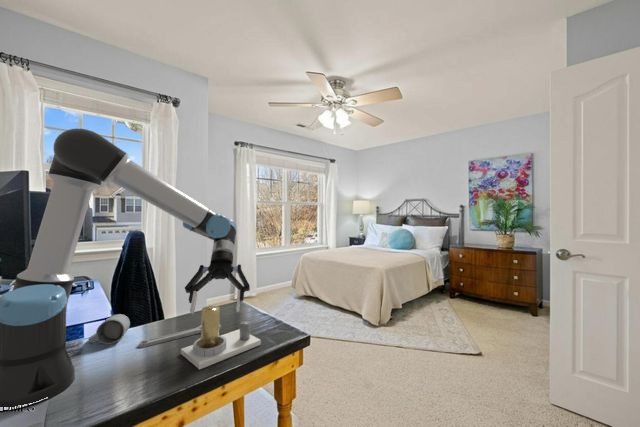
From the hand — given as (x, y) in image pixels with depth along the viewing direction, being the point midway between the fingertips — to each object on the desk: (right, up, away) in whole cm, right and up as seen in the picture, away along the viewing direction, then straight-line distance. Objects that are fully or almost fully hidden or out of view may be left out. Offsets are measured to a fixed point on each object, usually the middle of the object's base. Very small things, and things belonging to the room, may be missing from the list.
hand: (215, 311), depth 89 cm
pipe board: (+2, -11, -1) cm, 12 cm away
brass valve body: (0, -10, -4) cm, 11 cm away
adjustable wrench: (-14, -12, +9) cm, 20 cm away
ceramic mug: (-36, -11, +4) cm, 38 cm away
